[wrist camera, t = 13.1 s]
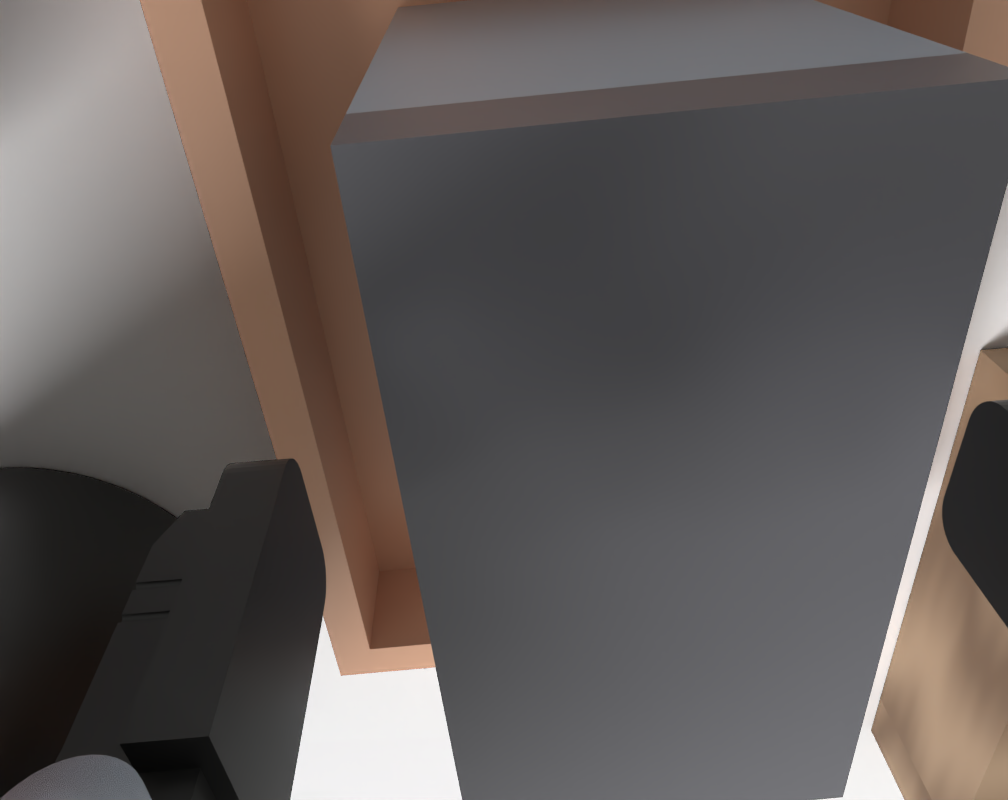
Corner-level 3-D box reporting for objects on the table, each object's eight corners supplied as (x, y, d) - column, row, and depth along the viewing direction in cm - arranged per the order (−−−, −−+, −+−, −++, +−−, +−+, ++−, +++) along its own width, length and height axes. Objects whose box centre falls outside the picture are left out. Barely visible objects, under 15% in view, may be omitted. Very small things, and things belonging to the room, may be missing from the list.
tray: (148, -229, 12) (62, -259, 9) (979, -308, 12) (1122, -360, 9) (355, 579, 21) (341, 675, 18) (819, 537, 21) (869, 628, 18)
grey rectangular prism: (398, 7, 13) (330, 144, 6) (736, -27, 13) (1034, 76, 6) (465, 484, 18) (468, 830, 12) (703, 462, 18) (842, 797, 12)
